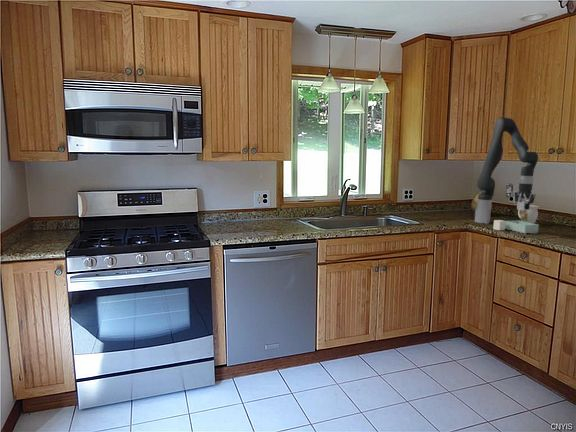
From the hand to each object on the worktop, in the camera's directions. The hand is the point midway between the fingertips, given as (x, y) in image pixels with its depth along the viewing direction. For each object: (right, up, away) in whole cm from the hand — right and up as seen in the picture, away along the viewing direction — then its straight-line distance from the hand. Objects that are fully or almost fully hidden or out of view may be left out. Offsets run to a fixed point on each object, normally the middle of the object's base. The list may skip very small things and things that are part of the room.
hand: (523, 208), depth 265 cm
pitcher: (+22, -10, +33) cm, 42 cm away
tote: (0, -15, +2) cm, 15 cm away
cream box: (-12, -14, +6) cm, 20 cm away
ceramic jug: (+6, -4, +70) cm, 70 cm away
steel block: (0, -1, 0) cm, 0 cm away
